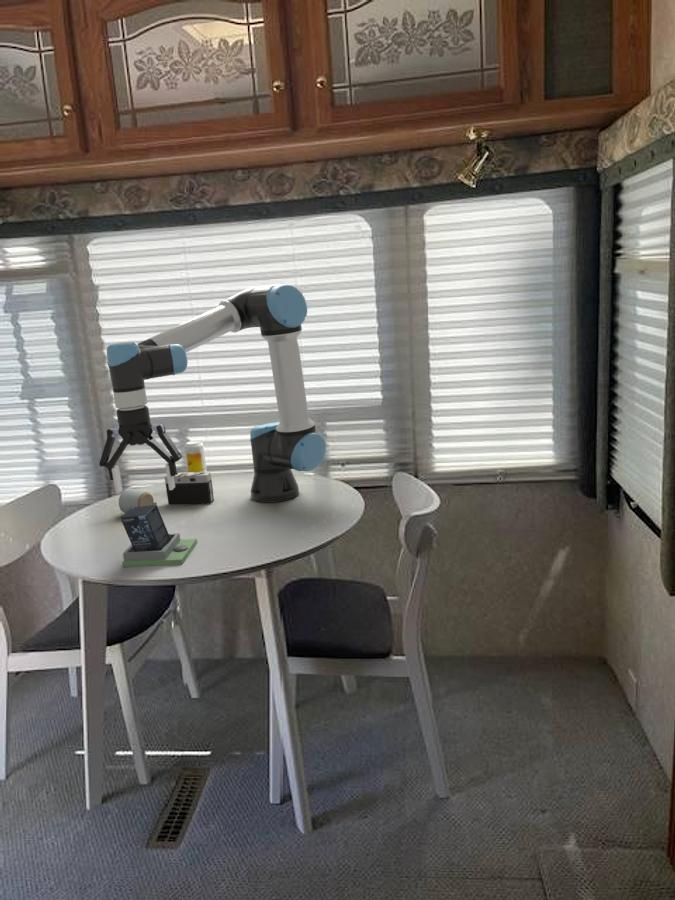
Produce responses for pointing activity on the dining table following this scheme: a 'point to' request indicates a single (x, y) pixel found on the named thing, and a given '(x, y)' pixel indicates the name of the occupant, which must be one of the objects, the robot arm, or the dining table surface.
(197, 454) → the white and yellow cylinder
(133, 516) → the box
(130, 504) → the ceramic mug
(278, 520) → the dining table surface
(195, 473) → the camera
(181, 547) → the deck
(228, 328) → the robot arm
